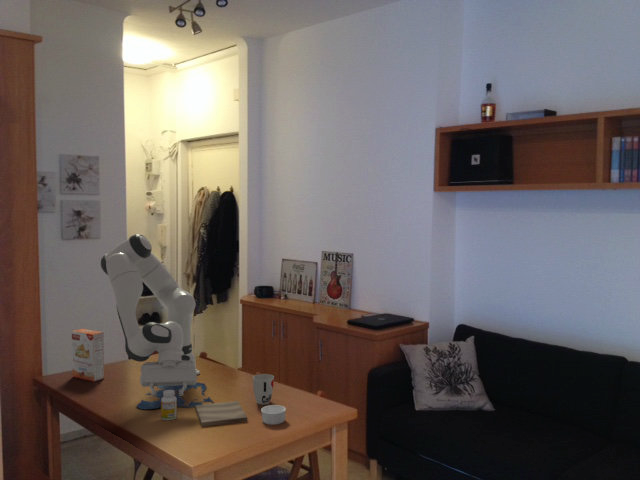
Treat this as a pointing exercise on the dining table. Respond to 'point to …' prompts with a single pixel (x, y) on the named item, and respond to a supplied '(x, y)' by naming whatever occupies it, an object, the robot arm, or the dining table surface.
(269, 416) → the ramekin
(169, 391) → the supplement bottle
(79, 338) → the cracker box
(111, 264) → the robot arm
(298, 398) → the dining table surface
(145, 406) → the blue cloth
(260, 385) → the cup
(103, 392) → the dining table surface
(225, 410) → the wooden board
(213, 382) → the dining table surface
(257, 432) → the dining table surface
